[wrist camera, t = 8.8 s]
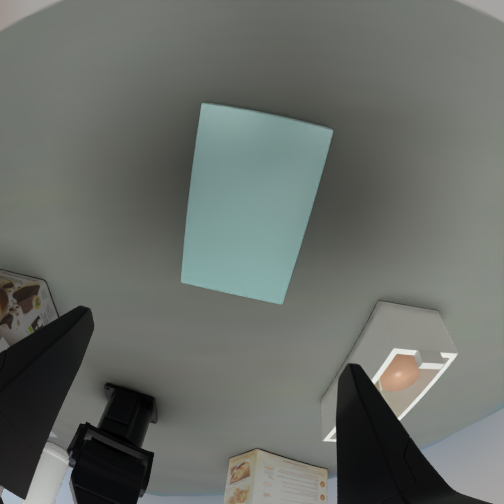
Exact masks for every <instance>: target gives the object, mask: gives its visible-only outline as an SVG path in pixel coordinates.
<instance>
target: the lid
mask: <svg viewBox="0 0 504 504" xmlns="http://www.w3.org/2000/svg"><path fill="white" fill-rule="evenodd" d="M333 131H334V130H332V129H331V128H329V127H325V126H321V125H318V124H314V123H310V122H306V121H302V120H297V119H293V118H289V117H284V116H280V115H275V114H271V113H266V112H261V111H256V110H250V109H245V108H239V107H234V106H228V105H221V104H215V103H208V102H205V103H202V106H201V112H200V118H199V125H198V131H197V138H196V145H195V152H194V159H193V167H192V175H191V183H190V191H189V200H188V209H187V218H186V228H185V238H184V249H183V261H182V274H181V283H186V284H190V285H194V286H198V287H203V288H207V289H212V290H216V291H220V292H225V293H229V294H234V295H239V296H243V297H248V298H253V299H257V300H262V301H267V302H272V303H277V304H282V303H283V300H284V297H285V294H286V291H287V288H288V285H289V282H290V278H291V275H292V272H293V269H294V266H295V263H296V259H297V256H298V253H299V250H300V247H301V243H302V240H303V237H304V233H305V230H306V227H307V223H308V220H309V217H310V213H311V210H312V207H313V203H314V200H315V196H316V193H317V189H318V186H319V182H320V179H321V175H322V171H323V168H324V164H325V161H326V157H327V153H328V150H329V146H330V142H331V138H332V135H333Z"/></svg>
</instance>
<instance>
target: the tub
mask: <svg viewBox="0 0 504 504" xmlns="http://www.w3.org/2000/svg"><path fill="white" fill-rule="evenodd" d="M457 355H458V352H457V350H456V348H455V345H454V343H453V341H452V339H451V337H450V335H449V333H448V330H447V328H446V326H445V324H444V322H443V320H442V318H441V316H440V314H439V312H438V311H436V310H430V309H424V308H418V307H412V306H406V305H400V304H395V303H389V302H383V301H378V302H377V304H376V306H375V308H374V310H373V312H372V314H371V316H370V318H369V320H368V322H367V323H366V325H365V327H364V329H363V331H362V333H361V334H360V336H359V338H358V340H357V342H356V343H355V345H354V347H353V349H352V350H351V352H350V354H349V356H348V357H347V359H346V361H345V362H344V364H343V366H342V367H341V369H340V371H339V372H338V374H337V376H336V377H335V379H334V380H333V382H332V384H331V385H330V387H329V388H328V390H327V392H326V393H325V395H324V396H323V398H322V399H321V413H322V436H323V441H335V442H336V406H337V389H338V379H339V377H340V375H341V373H342V372H343V370H344V368H345V367H346V365H347V364H348V363H356V364H359V365H361V367H362V368H363V369H364V371H365V372H366V374H367V375H368V377H369V378H370V379H371V381H372V382H373V384H374V385H375V386H376V388H377V389H378V391H379V392H380V394H381V395H382V396H383V398H384V399H385V401H386V402H387V404H388V405H389V407H390V408H391V409H392V411H393V412H394V414H395V415H396V417H397V418H398V420H399V421H400V420H401V419H402V418H403V417H404V416H405V415H406V414H407V412H408V411H409V410H410V409H411V408H412V407H413V406H414V405H415V404H416V403H417V402H418V401H419V400H420V399H421V398H422V397H423V395H424V394H425V393H426V392H427V391H428V390H429V389H430V388H431V386H432V385H433V384H434V383H435V382H436V381H437V379H438V378H439V377H440V376H441V375H442V374H443V372H444V371H445V370H446V369H447V367H448V366H449V365H450V364H451V362H452V361H453V360H454V359H455V357H456V356H457Z"/></svg>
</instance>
